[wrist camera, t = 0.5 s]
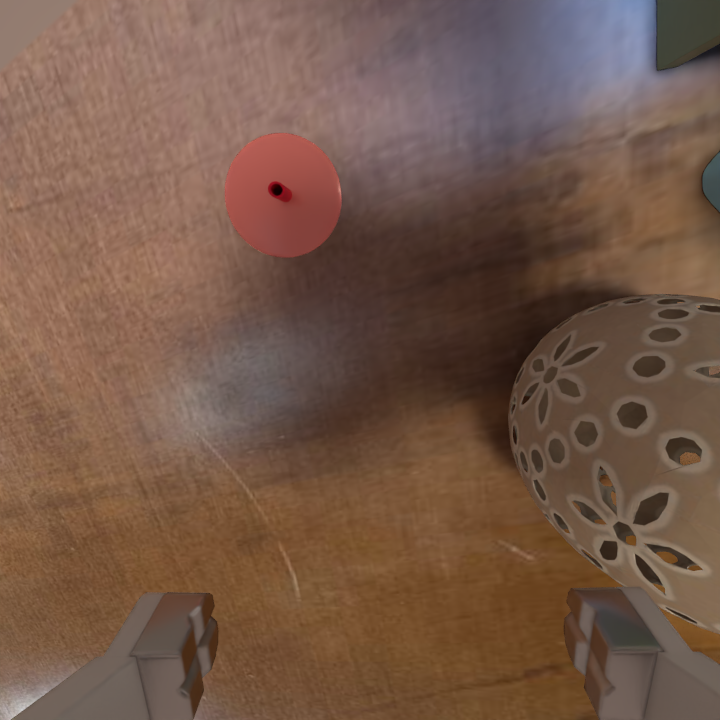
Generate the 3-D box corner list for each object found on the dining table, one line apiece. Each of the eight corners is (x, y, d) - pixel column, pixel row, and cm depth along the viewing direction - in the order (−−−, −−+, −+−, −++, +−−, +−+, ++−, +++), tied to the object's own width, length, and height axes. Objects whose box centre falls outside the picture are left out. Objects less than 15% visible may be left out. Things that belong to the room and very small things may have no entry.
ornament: (470, 298, 30) (645, 410, 11) (692, 262, 29) (1309, 314, 10) (489, 486, 34) (644, 811, 15) (686, 459, 33) (1123, 770, 14)
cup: (364, 188, 28) (360, 157, 17) (328, 264, 30) (302, 284, 18) (287, 148, 28) (230, 87, 16) (255, 227, 29) (180, 223, 18)
